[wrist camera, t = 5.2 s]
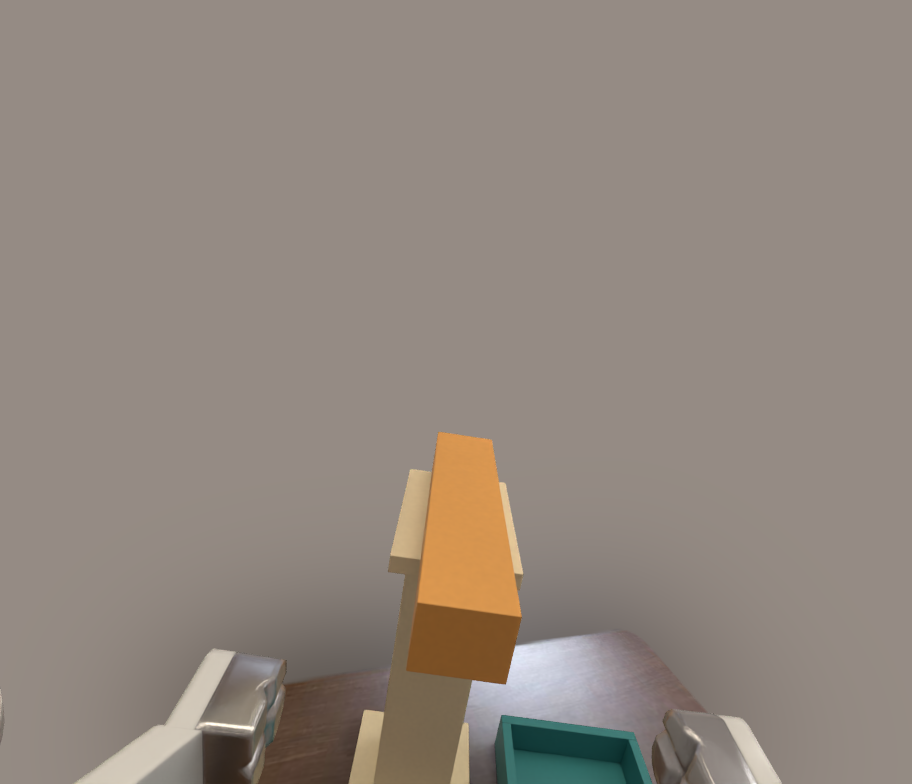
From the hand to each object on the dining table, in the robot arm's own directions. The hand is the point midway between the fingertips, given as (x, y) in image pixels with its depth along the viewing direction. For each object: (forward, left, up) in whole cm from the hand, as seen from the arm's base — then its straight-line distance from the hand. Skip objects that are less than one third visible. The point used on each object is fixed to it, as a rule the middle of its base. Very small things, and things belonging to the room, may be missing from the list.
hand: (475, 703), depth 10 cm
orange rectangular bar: (+7, +18, -8) cm, 21 cm away
